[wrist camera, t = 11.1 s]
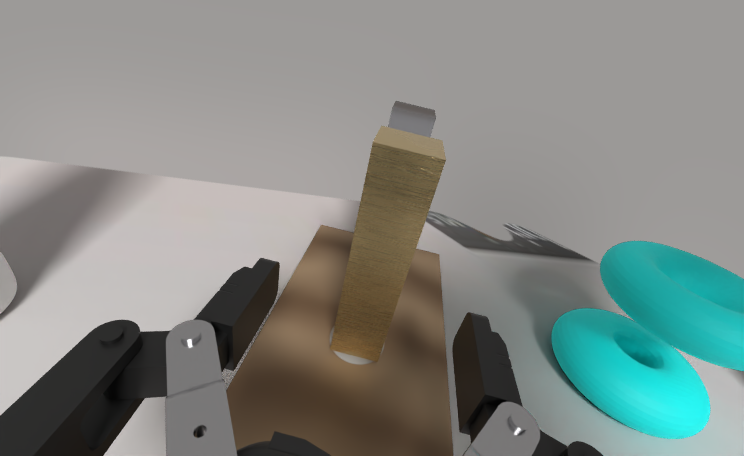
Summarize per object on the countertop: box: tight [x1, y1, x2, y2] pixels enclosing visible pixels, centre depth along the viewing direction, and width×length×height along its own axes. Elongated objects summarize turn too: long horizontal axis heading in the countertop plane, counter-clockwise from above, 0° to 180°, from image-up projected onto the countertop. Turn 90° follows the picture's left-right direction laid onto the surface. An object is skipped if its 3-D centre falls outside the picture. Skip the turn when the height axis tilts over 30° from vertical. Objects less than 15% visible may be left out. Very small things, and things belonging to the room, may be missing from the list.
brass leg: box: [330, 126, 446, 362], centre depth 17 cm, size 3×3×13 cm
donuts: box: [551, 241, 744, 439], centre depth 22 cm, size 10×10×10 cm
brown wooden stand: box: [226, 101, 453, 456], centre depth 19 cm, size 23×12×14 cm, turn 172°
